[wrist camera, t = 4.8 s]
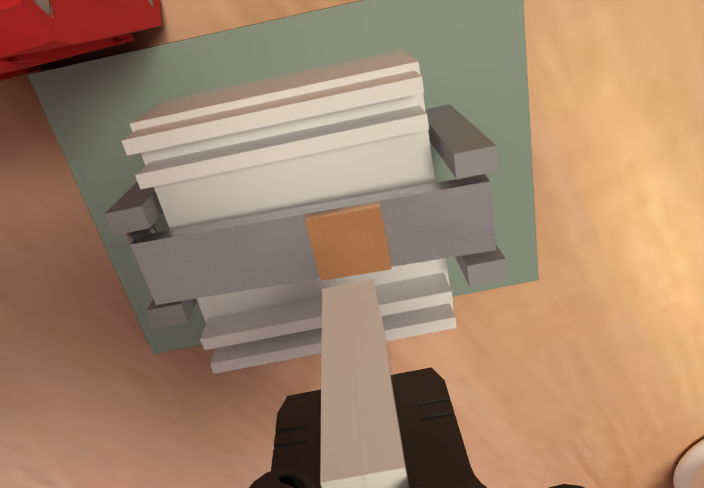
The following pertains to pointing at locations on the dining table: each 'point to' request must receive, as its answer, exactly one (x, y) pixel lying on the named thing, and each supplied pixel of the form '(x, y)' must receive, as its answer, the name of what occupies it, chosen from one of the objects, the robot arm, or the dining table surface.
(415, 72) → the heatsink
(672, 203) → the dining table surface
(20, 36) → the radio
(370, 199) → the strap
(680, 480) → the jar
